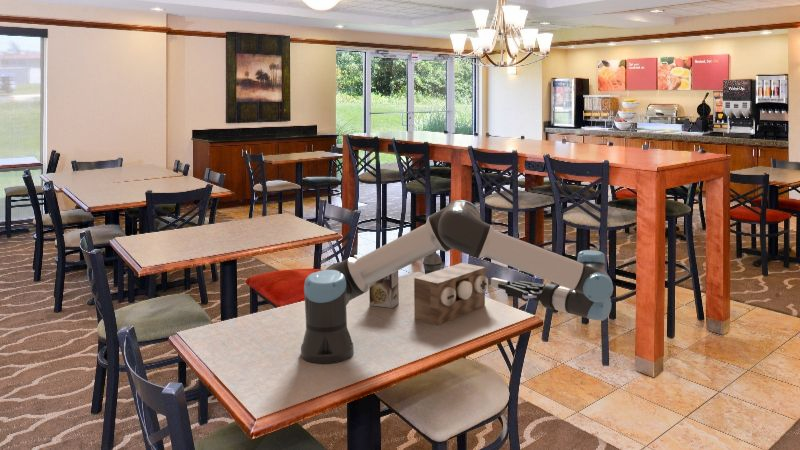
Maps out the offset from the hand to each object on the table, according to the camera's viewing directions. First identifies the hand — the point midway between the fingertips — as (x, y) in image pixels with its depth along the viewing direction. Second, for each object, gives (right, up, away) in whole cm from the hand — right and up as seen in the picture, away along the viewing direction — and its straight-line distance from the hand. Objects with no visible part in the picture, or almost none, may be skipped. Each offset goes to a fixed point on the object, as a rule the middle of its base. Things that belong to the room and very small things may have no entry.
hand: (492, 282), depth 207 cm
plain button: (-8, -6, +9) cm, 13 cm away
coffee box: (-35, -10, +23) cm, 43 cm away
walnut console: (-12, -12, +13) cm, 21 cm away
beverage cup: (-17, -7, +36) cm, 41 cm away
